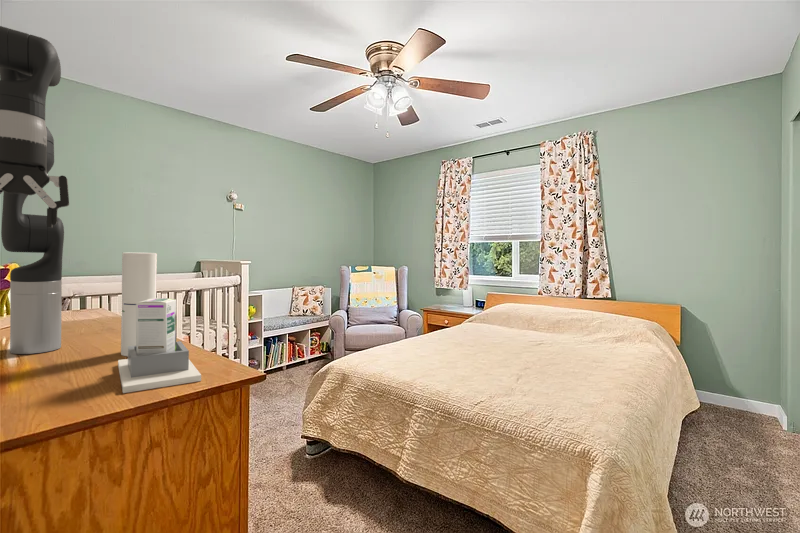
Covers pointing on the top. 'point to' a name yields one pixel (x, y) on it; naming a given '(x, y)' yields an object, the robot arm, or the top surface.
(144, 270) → the cylindrical container
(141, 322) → the syrup box
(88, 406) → the top surface
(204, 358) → the top surface
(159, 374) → the dock
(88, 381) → the top surface
